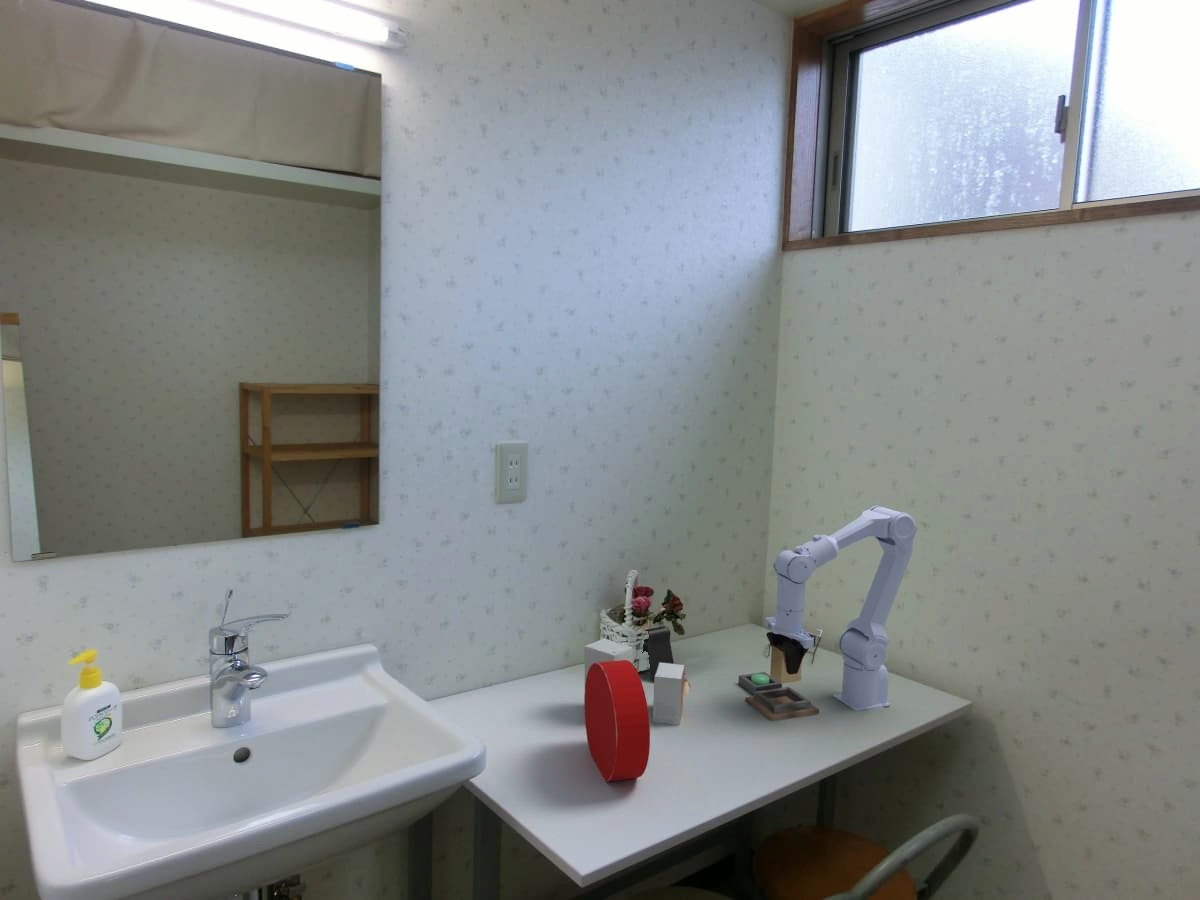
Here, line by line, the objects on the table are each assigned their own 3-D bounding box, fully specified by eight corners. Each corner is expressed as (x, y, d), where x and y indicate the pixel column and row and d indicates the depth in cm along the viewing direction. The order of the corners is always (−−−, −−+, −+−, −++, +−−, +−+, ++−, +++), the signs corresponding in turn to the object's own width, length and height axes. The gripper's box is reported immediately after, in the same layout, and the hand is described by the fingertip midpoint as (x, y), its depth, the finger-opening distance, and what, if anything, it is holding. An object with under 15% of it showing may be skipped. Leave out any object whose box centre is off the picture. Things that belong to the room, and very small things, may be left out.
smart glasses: (823, 645, 204) (823, 628, 203) (814, 672, 192) (814, 655, 190) (777, 637, 209) (778, 620, 208) (765, 664, 196) (766, 646, 195)
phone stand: (676, 682, 179) (678, 632, 178) (656, 687, 176) (658, 636, 174) (653, 668, 186) (655, 620, 185) (633, 673, 183) (635, 624, 182)
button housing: (764, 680, 181) (764, 672, 181) (781, 693, 174) (782, 683, 174) (738, 684, 178) (738, 675, 178) (755, 697, 172) (755, 687, 172)
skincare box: (632, 720, 159) (635, 647, 157) (611, 730, 154) (614, 655, 152) (603, 707, 164) (605, 636, 163) (581, 716, 160) (583, 644, 158)
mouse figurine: (670, 683, 178) (671, 655, 177) (695, 695, 172) (696, 666, 171) (654, 688, 175) (655, 660, 174) (679, 701, 169) (680, 671, 168)
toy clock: (647, 800, 129) (652, 686, 127) (614, 805, 128) (618, 689, 126) (612, 744, 148) (615, 643, 146) (582, 747, 147) (585, 646, 145)
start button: (762, 681, 179) (762, 672, 179) (772, 688, 175) (772, 679, 175) (747, 684, 177) (748, 674, 177) (757, 691, 174) (757, 681, 174)
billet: (789, 673, 168) (791, 642, 167) (800, 680, 164) (802, 649, 164) (770, 676, 166) (771, 645, 166) (781, 683, 163) (782, 651, 162)
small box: (679, 729, 155) (681, 679, 154) (652, 725, 157) (654, 676, 155) (683, 712, 163) (685, 664, 162) (657, 709, 164) (659, 661, 163)
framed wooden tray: (790, 694, 174) (791, 684, 173) (819, 713, 164) (819, 702, 164) (745, 701, 169) (745, 690, 169) (771, 721, 160) (772, 710, 160)
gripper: (754, 599, 169) (751, 659, 170) (795, 620, 156) (791, 684, 157) (781, 596, 172) (778, 655, 173) (823, 617, 158) (819, 680, 160)
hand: (786, 669), depth 165 cm, fingers closed on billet, 4 cm apart
